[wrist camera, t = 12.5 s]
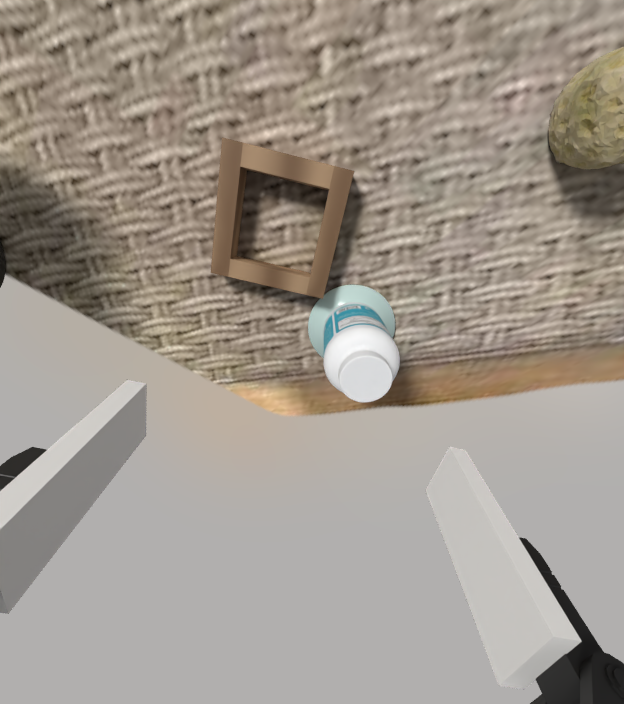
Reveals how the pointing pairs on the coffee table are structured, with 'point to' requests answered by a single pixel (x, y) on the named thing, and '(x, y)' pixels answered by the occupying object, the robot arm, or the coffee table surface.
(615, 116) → the decorative object
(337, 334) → the pill bottle
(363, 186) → the coffee table surface
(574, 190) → the coffee table surface
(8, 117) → the coffee table surface
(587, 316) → the coffee table surface
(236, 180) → the walnut frame
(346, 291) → the coaster
